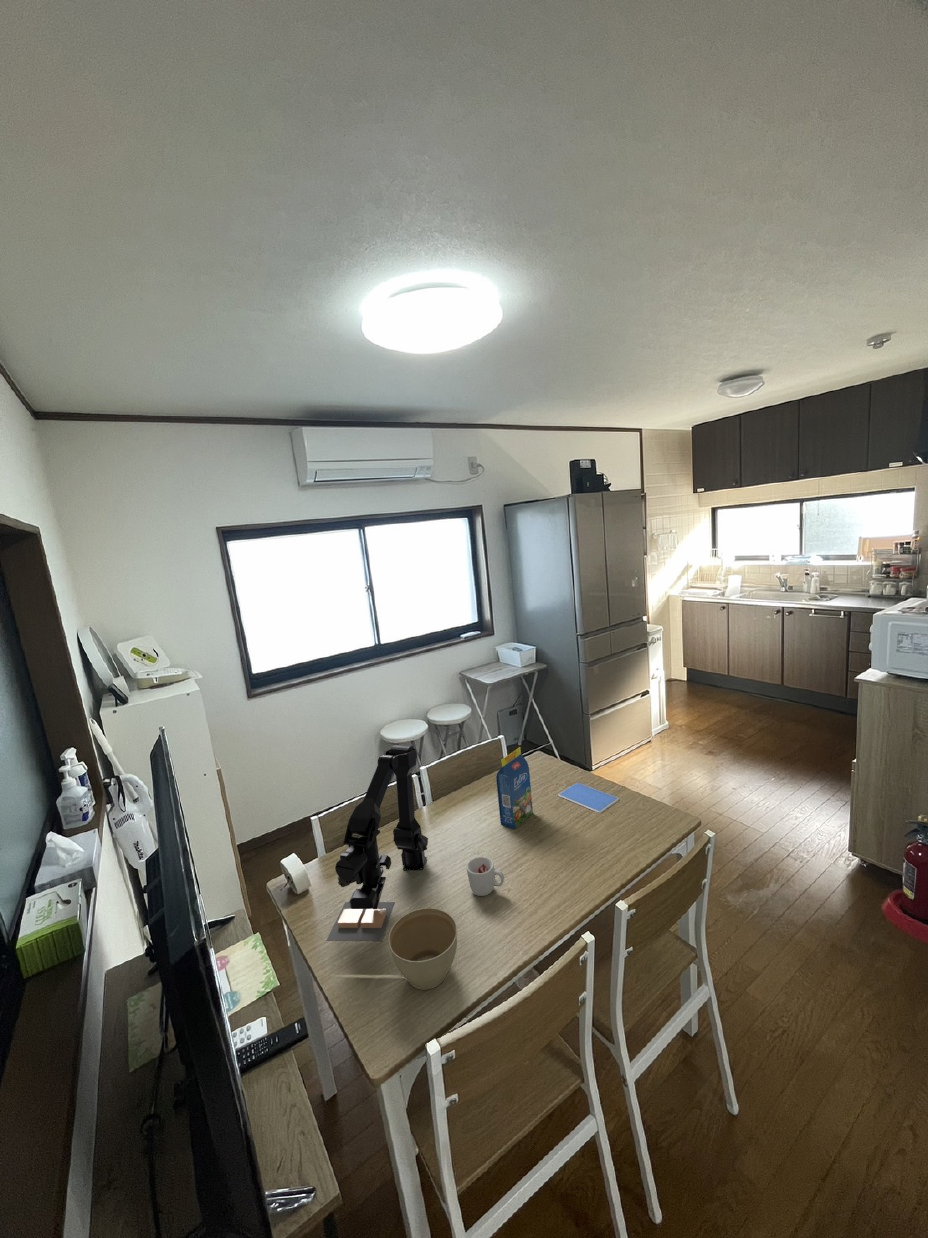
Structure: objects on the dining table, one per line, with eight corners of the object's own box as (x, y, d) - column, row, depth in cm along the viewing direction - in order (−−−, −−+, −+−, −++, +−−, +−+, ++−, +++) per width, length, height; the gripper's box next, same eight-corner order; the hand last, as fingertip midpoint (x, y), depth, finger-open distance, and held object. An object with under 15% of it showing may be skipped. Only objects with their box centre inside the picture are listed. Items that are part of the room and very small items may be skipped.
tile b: (363, 909, 140) (357, 922, 135) (363, 914, 140) (358, 928, 135) (344, 909, 140) (337, 922, 135) (345, 914, 141) (338, 928, 136)
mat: (395, 903, 144) (395, 902, 144) (381, 942, 130) (381, 940, 130) (345, 903, 146) (345, 902, 146) (326, 942, 132) (326, 940, 132)
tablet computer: (620, 800, 186) (619, 797, 186) (600, 815, 178) (599, 811, 178) (577, 785, 201) (577, 781, 200) (557, 797, 193) (557, 794, 192)
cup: (508, 884, 147) (506, 859, 146) (501, 903, 139) (499, 877, 138) (473, 879, 150) (471, 855, 149) (465, 897, 143) (462, 872, 142)
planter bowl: (405, 1016, 109) (399, 973, 107) (386, 962, 124) (380, 923, 122) (472, 984, 115) (468, 942, 113) (446, 936, 130) (442, 899, 128)
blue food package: (533, 813, 183) (527, 748, 179) (515, 829, 174) (508, 761, 170) (518, 808, 187) (513, 745, 183) (500, 824, 178) (493, 758, 174)
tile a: (385, 909, 139) (380, 922, 134) (386, 914, 139) (381, 928, 134) (366, 909, 139) (360, 922, 135) (367, 914, 140) (361, 928, 135)
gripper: (351, 837, 147) (358, 885, 149) (326, 880, 128) (335, 934, 131) (388, 836, 145) (394, 885, 147) (368, 879, 127) (376, 934, 129)
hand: (375, 908), depth 139 cm, fingers closed
